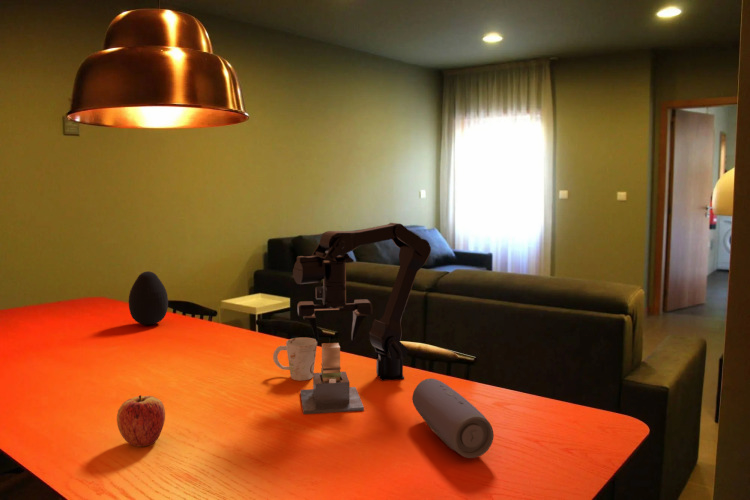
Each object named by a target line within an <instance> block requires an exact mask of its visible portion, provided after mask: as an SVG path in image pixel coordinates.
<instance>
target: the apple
mask: <svg viewBox="0 0 750 500" xmlns="http://www.w3.org/2000/svg"><path fill="white" fill-rule="evenodd" d="M165 420H166V409H165V406H164V402H162V400H161V399H160V398H158V397H155V396H153V395H139V396H134V397H132V398H128V399H127V400H125V401H123V403H122V404H121V405H120V407H119V408H118V411H117V414H116V423H117V424H116V425H117V428H118V431H119V433H120V435H121V437H122V438H123V439H124V441H125V442H126V443H128V445H130V446H133V447H148V446H151V445H152V444H155V442H156V441H158V439H159V437H160V435H161V433H162V432H163V427H164V424H165Z"/></svg>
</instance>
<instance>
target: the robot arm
mask: <svg viewBox="0 0 750 500" xmlns="http://www.w3.org/2000/svg"><path fill="white" fill-rule="evenodd" d="M389 240H392V242H393V243H394V245H395V246H396V247H397V248H399V253H398V259H399V269H398V272H397V275H396V278H395V281H394V284H393V287H392V289H391V292H390V295H389V298H388V301H387V304H386V307H385V310H384V314H383V315H382V316H381V318H380V319H379V320H377V319H373V321H372V325H371V328H370V330H369V332H368V334H369V341H370V342H369V343H370V344H371V345H372V347H373V348H374V350H375V351H374V352H375V353H378V358H377V359H376V362H375V363H376V369H375V370H376V371H375V372H376V375H377V376H378V377H379V379H380V380H381V381H391V380H394V381H396V380H404V379H405V376H404V358H407V356H408V352H409V349H408V348H407V346H406V345H404V344H403V343H402V342H401V339H402V333H403V332H402V325H401V324H402V323H401V322H402V317H403V314H404V312H405V308H406V306H407V303H408V300H409V298H410V294H411V291H412V288H413V284H414V282H415V280H416V276H417V273H418V271H420V270H421V268H422V267H423V266H424V265H425V264H426V262H427V260H428V259H429V257H430V254H431V251H432V247H431V245H430V243H429V241H428V240H427V239H425V238H421V237H420V236H419V235H417V234H416V233H414V232H413V231H411V230H409V229H408V228H407V227H406V226H405V225H403V224H401V223H397V222H389V223H388V224H383V225H378V226H373V227H368V228H363V229H359V230H351V231H350V230H349V231H348V230H346V231H345V230H327V231H324V232H323V233H322V235H321V237H320V239H319V242H318V245H317V246H316V248H315V249H314V251H313V253H311V255H310V256H308V255H307V256H303V255H300V256H299V255H298V256H297V257H296V261H295V263H294V266H293V268H292V274H293V275H292V276H293V279H294V282H295V284H297V285H304V284H305V285H306V284H315V283H316V284H317V283H321V281H323V284H322V285H323V286H316V287H315V300H322V302H321V304H314V301H313V300H312V301H311V300H310V301H309V300H306V301H305V300H304V301H298V303H297V315H298V317H301V318H302V317H303V320H304V321H307V320H308V323H309V325H310V327H311V329H312V332H313V335H314V339H315V340H316V342H317V343H318V342H319V334H318V325H317V317H316V315H315V313H323V312H324V313H325V312H326V313H327V312H330V313H331V312H347V311H348V312H351V311H352V325H351V341H354V340H355V338H356V334H357V333H358V329H359V327H360V325H361V324H362V321H363V320H364V318H368V315H373V304H372V302H371V301H370V300H369V299H354V301H353V302H352V303H350V302H349V303H347V282H346V281H347V269H346V268H347V266H346V265H347V264H350V263H354V262H355V261H354V258H352V257H351V256H350V255H349V253H351V252H352V251H354V250H355V249H357V248H359V247H363V246H366V245H370V244H375V243H379V242H380V243H381V242H385V241H389Z"/></svg>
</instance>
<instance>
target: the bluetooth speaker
mask: <svg viewBox="0 0 750 500" xmlns="http://www.w3.org/2000/svg"><path fill="white" fill-rule="evenodd" d="M411 398H412V403H413V406H414V408H415V410H416V411H417V412H418V414H419V415H420V417H421V418H422V419H423V421H424V422H425V423H426V424H427V425H428V427H429V428H430V430H431V431H432V432H433V433H434V434H435V435H436V436H437V437H439V439H440V440H441V441H442V442H443V443H444V444H445V446H447V447H448V448H449V449H451V450H452V451H455V452H456V453H457V454H459V455H460V456H462V457H464V458H466V459H467V458H468V459H475V458H478V457H481V456H483V455H485V454H486V453H487V452H488V451H489V449H490V448H491V446H492V444H493V441H494V429H493V427H492V425H491V423H490V421H489V420H488V418H487V417H485V415H484V414H482V412H481V411H480V410H478V408H476V407H475V406H474V405H473V404H472V403H471V402H470V401H468V400H467V399H466V398H465V397H464V396H463V395H462V394H460V393H459V392H457V391H456V390H454V389H453V388H452V387H450V386H449V385H447V383H444V382H442V381H441V380H439V379H436V378H426V379H423V380H421V381H420V382H419V383H418V384H417V385H416V387H415V389H414V391H413V393H412V397H411Z"/></svg>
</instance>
